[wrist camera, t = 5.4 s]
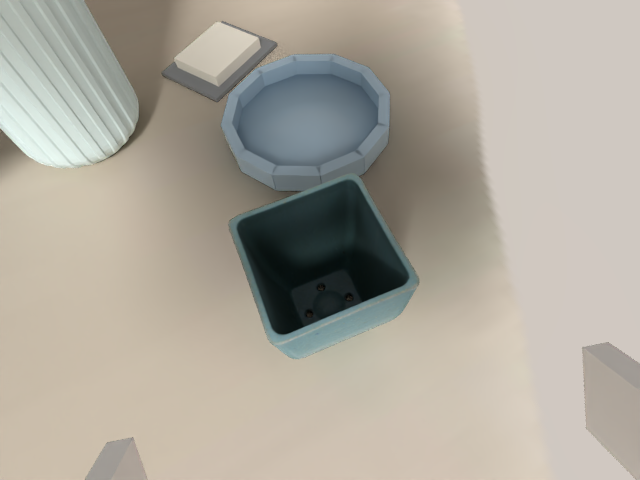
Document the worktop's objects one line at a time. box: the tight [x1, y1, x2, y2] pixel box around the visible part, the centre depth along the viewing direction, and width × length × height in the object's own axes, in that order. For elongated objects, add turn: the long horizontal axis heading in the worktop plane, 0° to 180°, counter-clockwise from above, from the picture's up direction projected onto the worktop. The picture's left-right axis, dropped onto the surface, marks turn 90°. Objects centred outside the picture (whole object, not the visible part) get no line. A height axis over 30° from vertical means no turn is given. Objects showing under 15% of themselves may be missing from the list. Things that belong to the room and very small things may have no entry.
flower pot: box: [228, 173, 419, 359], centre depth 30 cm, size 9×9×9 cm
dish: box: [221, 54, 390, 191], centre depth 42 cm, size 15×15×2 cm
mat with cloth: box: [162, 21, 277, 102], centre depth 48 cm, size 10×8×2 cm
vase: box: [0, 0, 139, 168], centre depth 35 cm, size 12×12×22 cm
